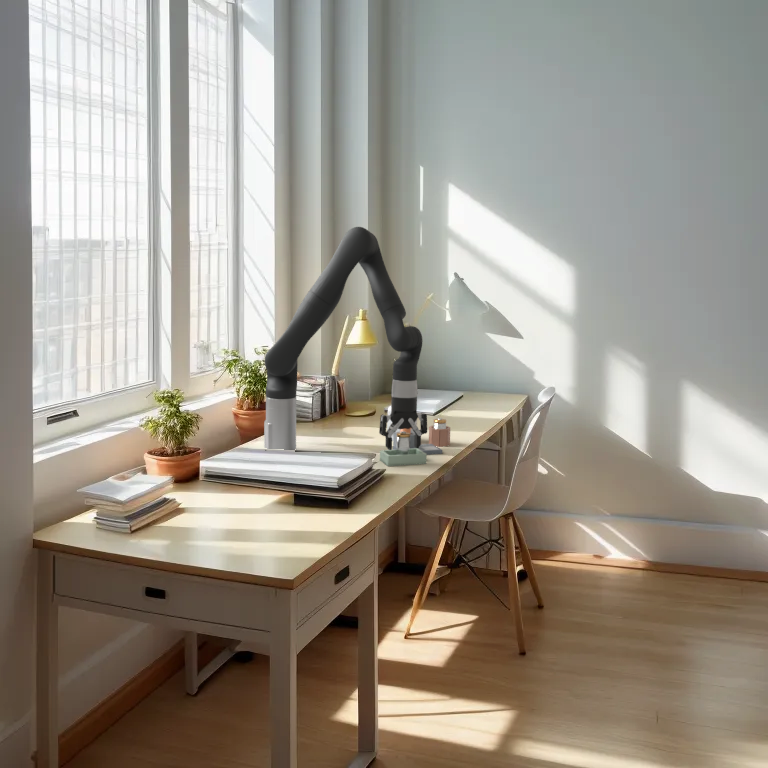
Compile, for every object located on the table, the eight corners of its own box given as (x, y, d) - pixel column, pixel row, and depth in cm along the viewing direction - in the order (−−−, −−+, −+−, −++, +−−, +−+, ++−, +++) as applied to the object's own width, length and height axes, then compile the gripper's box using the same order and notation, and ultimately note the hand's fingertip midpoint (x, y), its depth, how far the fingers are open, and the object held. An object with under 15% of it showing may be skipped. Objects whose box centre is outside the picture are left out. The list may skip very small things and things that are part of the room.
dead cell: (435, 446, 283) (436, 419, 281) (431, 443, 286) (431, 417, 285) (447, 445, 284) (448, 419, 283) (442, 442, 288) (443, 417, 286)
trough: (388, 466, 257) (388, 456, 257) (379, 460, 264) (379, 450, 264) (426, 463, 261) (426, 453, 261) (417, 457, 268) (417, 448, 268)
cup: (433, 448, 281) (434, 429, 280) (426, 443, 287) (426, 425, 286) (452, 447, 283) (452, 428, 282) (444, 442, 289) (445, 424, 288)
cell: (394, 458, 264) (394, 430, 263) (406, 458, 265) (407, 430, 264) (398, 461, 260) (399, 433, 259) (411, 461, 261) (412, 432, 260)
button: (402, 444, 273) (402, 429, 272) (398, 442, 276) (399, 426, 275) (411, 444, 274) (412, 428, 273) (408, 442, 277) (408, 426, 276)
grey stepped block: (402, 457, 268) (403, 438, 268) (392, 450, 277) (393, 431, 276) (442, 454, 273) (442, 435, 272) (431, 448, 281) (431, 429, 280)
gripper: (422, 391, 265) (420, 444, 268) (377, 393, 261) (376, 447, 263) (431, 395, 258) (430, 450, 261) (385, 397, 254) (384, 452, 256)
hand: (403, 448), depth 262 cm, fingers open, 8 cm apart
